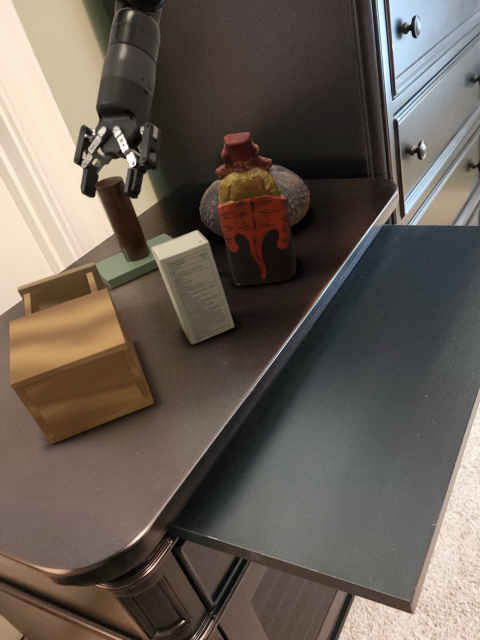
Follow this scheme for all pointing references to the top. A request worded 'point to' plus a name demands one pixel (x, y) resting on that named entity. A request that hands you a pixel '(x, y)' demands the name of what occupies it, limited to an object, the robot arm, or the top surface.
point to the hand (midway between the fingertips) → (108, 196)
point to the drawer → (61, 288)
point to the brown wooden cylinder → (122, 218)
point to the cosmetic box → (194, 286)
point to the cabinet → (76, 366)
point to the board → (128, 265)
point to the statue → (253, 215)
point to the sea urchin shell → (286, 182)
